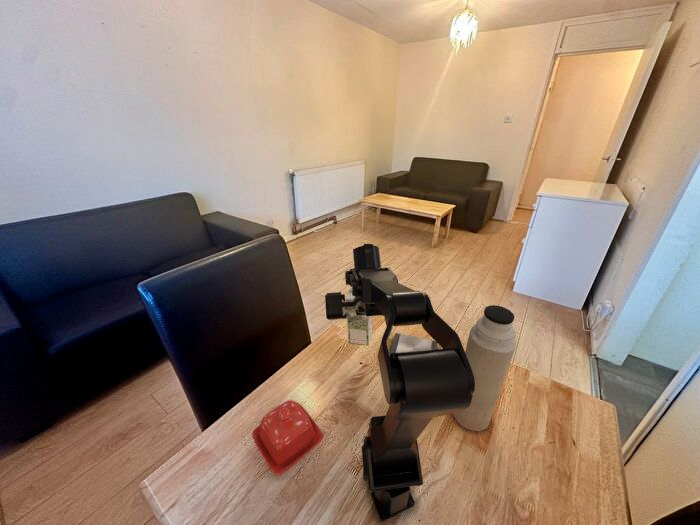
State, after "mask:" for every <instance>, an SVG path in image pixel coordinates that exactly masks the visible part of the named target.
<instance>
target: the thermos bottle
mask: <svg viewBox="0 0 700 525" xmlns="http://www.w3.org/2000/svg"><path fill="white" fill-rule="evenodd" d="M514 320H515V314H514V313H513V312H512V311H511V310H510V309H508V308H506V307H504V306H501V305H497V304H495V305H494V304H491V305H487V306H486V307H485V308H484V310H483V316H482V317H479V318H478V319H476V322H475V324H474V325H472V326H471V328H470V330H469V333H468V338H467V342H466V347H465V349H464V351H465V353H466V356H467V358H468V361H469V364H470V366H471V369H472V372H473V375H474V380H475V391H474V393H473V398H472V402H471V404H470V406H469V407H468V408H467V409H464V410H462V411H459V412H456V413H452V415H453V418H454V419H455V421H456V422H457V423H458V424H459V425H461V426H462V427H463V428H465V429H467V430H469V431H475V432H481V431H483V430H485V429H487V428H488V427H489V425H490V422H491V419H492V417H493V414H494V411H495V408H496V406H497V402H498V399H499V396H500V393H501V389H502V386H503V384H504V382H505V379H506V377H507V373H508V371H509V367H510V365H511V362H512V359H513V356H514V353H515V351H516V347H517V340H516V330H515V328H514V327H513V323H514Z"/></svg>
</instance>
